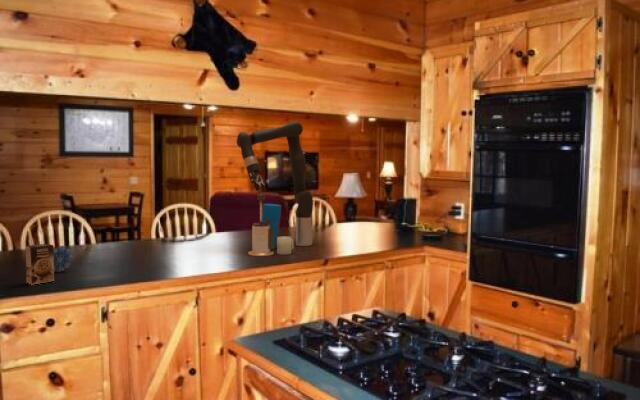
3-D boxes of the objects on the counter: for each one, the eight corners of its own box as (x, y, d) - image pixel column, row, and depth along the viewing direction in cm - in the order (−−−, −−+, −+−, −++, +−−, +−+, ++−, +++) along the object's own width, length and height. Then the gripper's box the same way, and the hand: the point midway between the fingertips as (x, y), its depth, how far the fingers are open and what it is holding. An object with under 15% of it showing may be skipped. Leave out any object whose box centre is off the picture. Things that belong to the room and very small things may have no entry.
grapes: (72, 269, 256) (71, 244, 255) (74, 272, 250) (73, 246, 249) (44, 271, 250) (44, 246, 249) (45, 274, 244) (45, 248, 243)
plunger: (263, 232, 303) (263, 193, 301) (267, 233, 298) (267, 194, 297) (254, 233, 300) (254, 194, 298) (259, 234, 296) (259, 194, 294)
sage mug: (288, 251, 309) (288, 235, 308) (296, 253, 302) (296, 237, 302) (274, 252, 304) (274, 236, 303) (281, 255, 297) (281, 238, 296)
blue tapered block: (274, 249, 315) (278, 206, 313) (257, 246, 318) (260, 204, 315) (279, 246, 326) (283, 205, 324) (263, 244, 328) (266, 203, 326)
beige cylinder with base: (266, 250, 310) (266, 221, 308) (278, 254, 298) (278, 224, 297) (244, 252, 302) (244, 223, 301) (255, 257, 290) (255, 226, 289)
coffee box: (32, 286, 223) (30, 247, 222) (26, 283, 227) (24, 245, 226) (54, 282, 230) (53, 244, 228) (48, 279, 234) (47, 243, 233)
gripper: (252, 160, 302) (261, 187, 298) (263, 164, 315) (272, 189, 312) (240, 166, 304) (250, 192, 300) (252, 170, 317) (261, 195, 314)
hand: (261, 191), depth 306 cm, fingers open, 8 cm apart
